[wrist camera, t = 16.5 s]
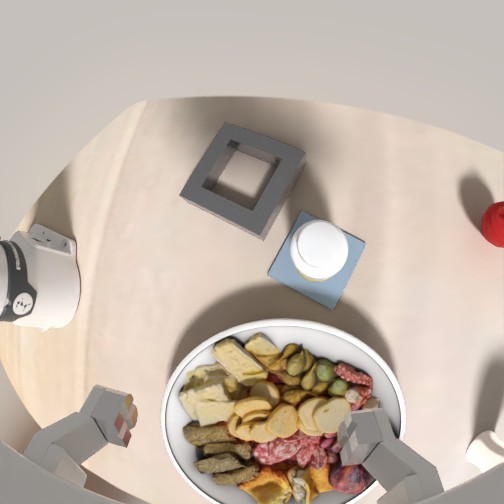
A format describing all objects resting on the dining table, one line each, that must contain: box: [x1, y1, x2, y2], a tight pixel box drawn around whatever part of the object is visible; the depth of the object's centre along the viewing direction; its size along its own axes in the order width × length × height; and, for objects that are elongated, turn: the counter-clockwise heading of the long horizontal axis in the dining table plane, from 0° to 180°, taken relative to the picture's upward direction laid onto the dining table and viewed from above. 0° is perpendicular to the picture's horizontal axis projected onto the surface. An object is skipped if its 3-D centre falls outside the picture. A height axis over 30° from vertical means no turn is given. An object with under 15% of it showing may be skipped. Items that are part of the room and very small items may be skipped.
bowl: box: [160, 318, 406, 504], centre depth 27 cm, size 30×30×8 cm
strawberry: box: [482, 202, 504, 248], centre depth 25 cm, size 6×8×10 cm
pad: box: [268, 211, 366, 310], centre depth 34 cm, size 9×9×1 cm
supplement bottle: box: [290, 220, 348, 282], centre depth 28 cm, size 6×6×10 cm
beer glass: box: [466, 430, 504, 473], centre depth 16 cm, size 7×7×15 cm
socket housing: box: [180, 122, 306, 241], centre depth 36 cm, size 12×12×3 cm
